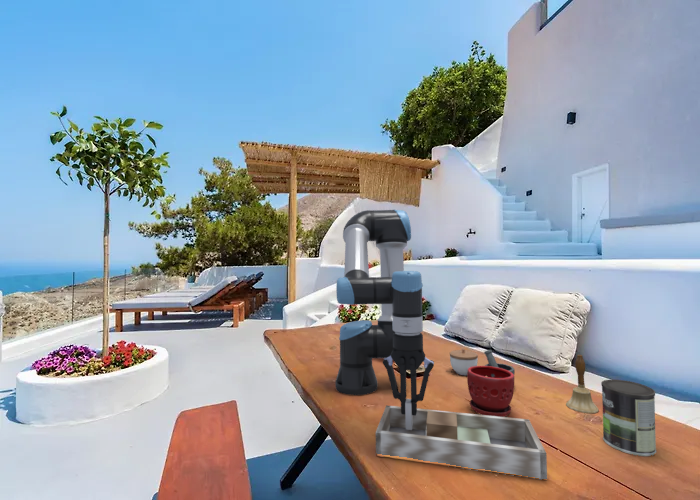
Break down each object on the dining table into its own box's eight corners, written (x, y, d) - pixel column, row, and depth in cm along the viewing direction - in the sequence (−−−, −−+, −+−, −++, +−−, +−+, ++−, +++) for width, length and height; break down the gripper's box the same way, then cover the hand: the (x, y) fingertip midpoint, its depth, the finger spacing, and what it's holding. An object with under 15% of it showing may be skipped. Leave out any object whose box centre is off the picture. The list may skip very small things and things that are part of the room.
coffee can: (610, 451, 82) (608, 391, 82) (597, 431, 91) (596, 377, 92) (665, 460, 78) (663, 397, 78) (646, 438, 87) (645, 382, 88)
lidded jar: (463, 379, 131) (462, 354, 132) (444, 371, 141) (443, 347, 141) (484, 374, 136) (483, 350, 136) (464, 367, 146) (464, 344, 146)
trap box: (375, 456, 81) (375, 432, 81) (386, 425, 96) (386, 405, 96) (547, 480, 72) (546, 453, 72) (529, 441, 87) (529, 419, 87)
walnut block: (426, 442, 82) (426, 423, 82) (428, 428, 89) (427, 410, 89) (457, 446, 80) (457, 426, 80) (456, 431, 87) (456, 413, 87)
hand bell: (589, 416, 100) (587, 360, 100) (560, 405, 107) (558, 353, 108) (604, 409, 104) (603, 356, 104) (575, 399, 111) (574, 349, 112)
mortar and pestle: (520, 389, 121) (520, 354, 121) (501, 393, 117) (500, 358, 117) (495, 379, 131) (494, 347, 131) (476, 383, 127) (475, 350, 127)
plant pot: (512, 425, 95) (511, 381, 95) (463, 414, 102) (462, 373, 102) (517, 407, 106) (516, 368, 106) (473, 398, 113) (472, 361, 113)
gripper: (379, 334, 85) (380, 431, 85) (433, 336, 82) (435, 438, 81) (384, 328, 93) (386, 417, 92) (434, 330, 89) (436, 423, 89)
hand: (409, 427), depth 87 cm, fingers closed
